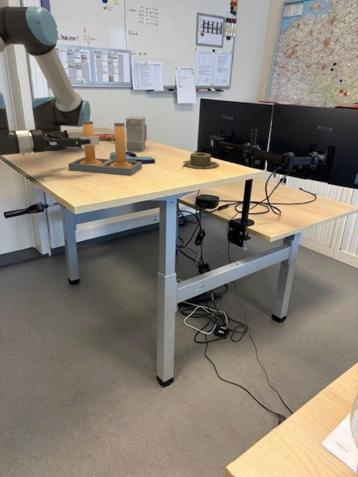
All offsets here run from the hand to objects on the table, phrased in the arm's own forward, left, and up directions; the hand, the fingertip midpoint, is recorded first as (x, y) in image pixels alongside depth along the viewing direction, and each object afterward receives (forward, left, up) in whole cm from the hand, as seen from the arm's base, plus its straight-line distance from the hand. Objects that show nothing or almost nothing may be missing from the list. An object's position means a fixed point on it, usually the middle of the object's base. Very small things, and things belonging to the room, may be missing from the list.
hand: (91, 137), depth 130 cm
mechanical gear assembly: (-23, +65, -13) cm, 70 cm away
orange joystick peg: (-1, -1, -11) cm, 11 cm away
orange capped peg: (+11, -1, -11) cm, 16 cm away
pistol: (+10, +16, -13) cm, 23 cm away
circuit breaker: (+1, +47, -12) cm, 49 cm away
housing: (+5, -1, -12) cm, 13 cm away
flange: (+37, +23, -13) cm, 45 cm away
